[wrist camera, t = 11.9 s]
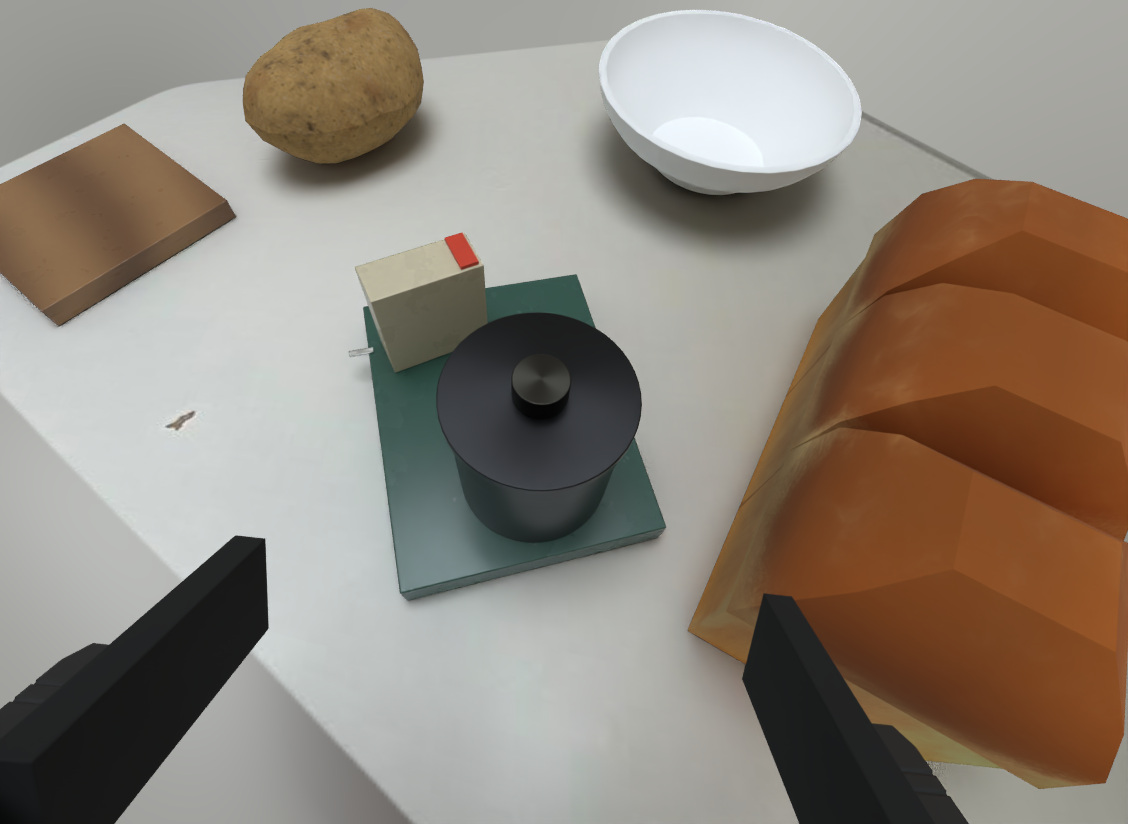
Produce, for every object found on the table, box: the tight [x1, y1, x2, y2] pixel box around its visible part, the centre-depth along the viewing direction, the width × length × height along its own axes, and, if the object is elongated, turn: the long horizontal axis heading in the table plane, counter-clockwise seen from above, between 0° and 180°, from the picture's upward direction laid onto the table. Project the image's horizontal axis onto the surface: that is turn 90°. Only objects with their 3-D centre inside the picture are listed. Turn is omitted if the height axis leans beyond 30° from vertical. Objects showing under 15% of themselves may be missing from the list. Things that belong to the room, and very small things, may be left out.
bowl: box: [599, 10, 862, 195], centre depth 45 cm, size 20×20×7 cm
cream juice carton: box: [355, 233, 488, 373], centre depth 32 cm, size 6×2×7 cm, turn 118°
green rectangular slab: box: [349, 274, 666, 600], centre depth 34 cm, size 15×20×2 cm
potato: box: [243, 8, 424, 163], centre depth 42 cm, size 10×14×8 cm
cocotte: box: [436, 312, 642, 543], centre depth 27 cm, size 9×9×10 cm
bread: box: [688, 179, 1128, 789], centre depth 28 cm, size 25×12×15 cm, turn 151°
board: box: [0, 124, 236, 326], centre depth 39 cm, size 13×12×2 cm
